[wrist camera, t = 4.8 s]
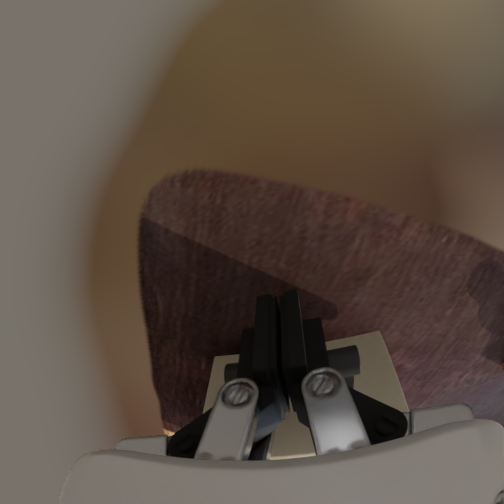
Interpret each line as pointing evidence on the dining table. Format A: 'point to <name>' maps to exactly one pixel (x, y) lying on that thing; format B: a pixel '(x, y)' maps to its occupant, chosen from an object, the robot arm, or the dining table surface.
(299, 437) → the fryer drawer
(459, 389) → the dining table surface
